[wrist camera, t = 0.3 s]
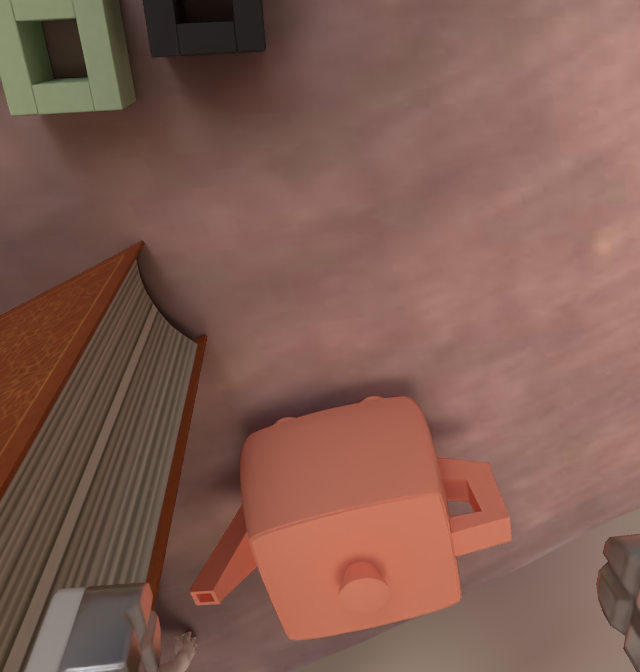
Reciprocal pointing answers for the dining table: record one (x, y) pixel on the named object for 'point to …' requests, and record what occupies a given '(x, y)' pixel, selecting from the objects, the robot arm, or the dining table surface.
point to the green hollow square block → (35, 68)
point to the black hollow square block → (203, 30)
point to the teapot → (353, 519)
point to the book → (87, 442)
